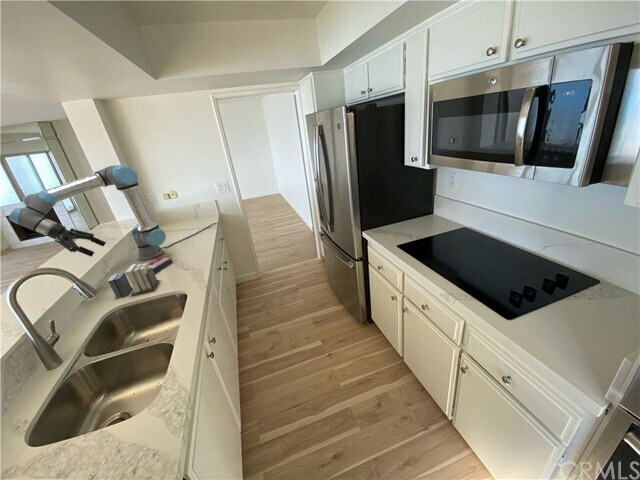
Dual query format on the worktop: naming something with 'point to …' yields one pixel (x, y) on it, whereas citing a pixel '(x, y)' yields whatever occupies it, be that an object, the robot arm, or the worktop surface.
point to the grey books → (120, 285)
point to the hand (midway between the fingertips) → (99, 249)
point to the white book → (133, 278)
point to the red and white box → (159, 264)
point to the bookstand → (145, 279)
